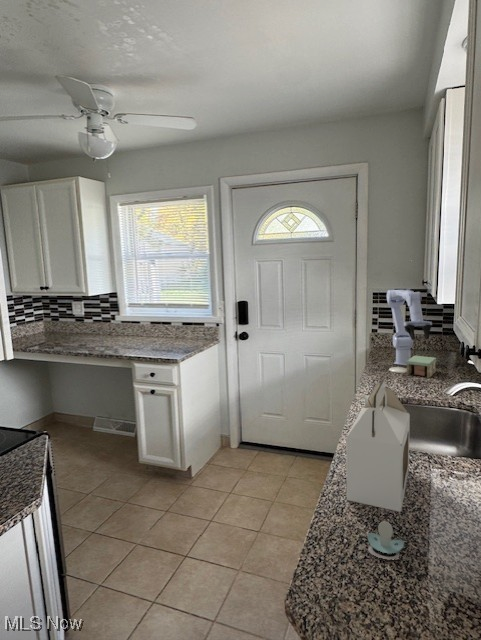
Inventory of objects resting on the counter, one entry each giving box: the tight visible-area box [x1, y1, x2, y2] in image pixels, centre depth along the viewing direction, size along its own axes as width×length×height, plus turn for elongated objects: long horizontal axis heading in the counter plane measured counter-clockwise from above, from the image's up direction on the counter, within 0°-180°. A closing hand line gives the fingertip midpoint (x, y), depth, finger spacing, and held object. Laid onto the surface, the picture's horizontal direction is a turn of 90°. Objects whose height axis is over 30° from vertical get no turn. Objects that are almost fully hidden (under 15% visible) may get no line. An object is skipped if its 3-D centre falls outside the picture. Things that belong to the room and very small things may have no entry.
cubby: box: [406, 360, 437, 379], centre depth 215 cm, size 14×11×6 cm
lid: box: [406, 355, 437, 366], centre depth 214 cm, size 14×11×2 cm
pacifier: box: [367, 520, 405, 559], centre depth 86 cm, size 7×6×6 cm
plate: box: [388, 366, 407, 374], centre depth 222 cm, size 10×10×1 cm
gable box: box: [345, 378, 411, 512], centre depth 110 cm, size 22×13×28 cm, turn 153°
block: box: [413, 365, 427, 377], centre depth 214 cm, size 5×5×5 cm
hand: (420, 339), depth 211 cm, fingers open, 7 cm apart
